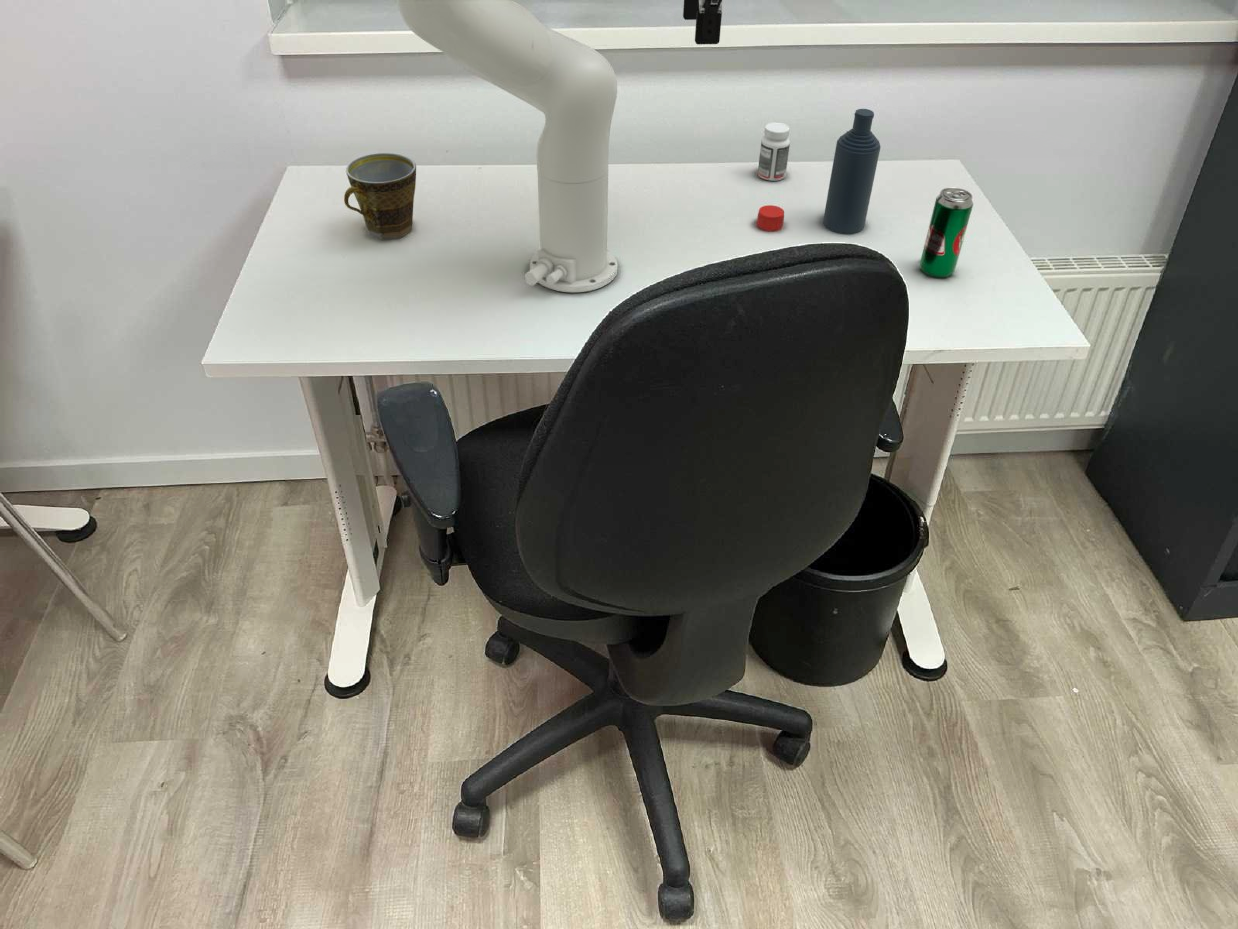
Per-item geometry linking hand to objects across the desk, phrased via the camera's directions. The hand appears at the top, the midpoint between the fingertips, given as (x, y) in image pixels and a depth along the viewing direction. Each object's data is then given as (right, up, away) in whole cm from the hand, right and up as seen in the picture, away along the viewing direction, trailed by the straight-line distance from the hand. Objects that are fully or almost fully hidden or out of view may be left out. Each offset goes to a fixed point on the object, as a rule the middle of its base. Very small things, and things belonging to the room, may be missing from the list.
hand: (700, 30), depth 134 cm
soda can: (+35, -30, +12) cm, 48 cm away
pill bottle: (+15, -10, +34) cm, 38 cm away
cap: (+13, -20, +19) cm, 30 cm away
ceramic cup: (-47, -24, +16) cm, 55 cm away
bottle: (+24, -21, +21) cm, 38 cm away
